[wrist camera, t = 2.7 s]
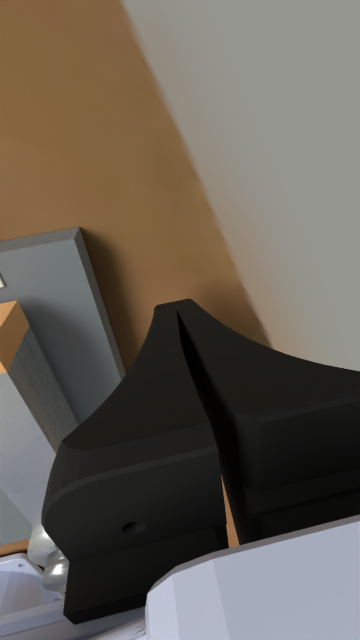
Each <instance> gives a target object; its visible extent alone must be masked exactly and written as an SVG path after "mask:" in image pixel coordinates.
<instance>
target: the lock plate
mask: <svg viewBox="0 0 360 640" xmlns="http://www.w3.org/2000/svg"><path fill="white" fill-rule="evenodd" d="M16 300H17V301H18V303H19V305H20V307H21V309H22V311H23V313H24V315H25V317H26V319H27V321H28V323H29V325H30V327H31V329H32V331H33V333H34V335H35V337H36V339H37V341H38V343H39V345H40V348H41V350H42V352H43V354H44V356H45V358H46V360H47V362H48V364H49V366H50V368H51V370H52V372H53V374H54V376H55V378H56V380H57V382H58V384H59V386H60V388H61V390H62V392H63V395H64V397H65V399H66V401H67V403H68V405H69V407H70V409H71V411H72V413H73V415H74V417H75V419H76V421H77V423H78V425H80V424H81V423H82V422H84V421H85V420H86V419H87V418H88V417H89V416H90V415H91V414H92V413H93V412H94V411H95V410H96V409H97V408H98V407H99V406H100V405H101V404H102V403H103V402H104V401H105V400H106V399H107V398H108V397H109V396H110V395H111V393H112V392H113V391H114V390H115V388H116V387H117V386H118V385H119V383H120V382H121V380H122V379H123V378H124V376H125V375H126V372H125V369H124V366H123V363H122V360H121V357H120V353H119V350H118V347H117V344H116V341H115V338H114V335H113V331H112V328H111V325H110V322H109V319H108V316H107V312H106V309H105V306H104V303H103V300H102V297H101V294H100V290H99V287H98V284H97V281H96V278H95V275H94V272H93V268H92V265H91V262H90V259H89V256H88V253H87V249H86V246H85V243H84V240H83V237H82V234H81V231H80V227H76V228H70V229H65V230H60V231H54V232H49V233H43V234H38V235H33V236H27V237H22V238H16V239H11V240H6V241H0V304H1V303H6V302H11V301H16ZM32 528H33V526H32V525H31V524H30V522H29V521H28V520H27V519H26V518H25V516H24V515H23V514H22V513H21V512H20V511H19V509H18V508H17V507H16V506H15V505H14V503H13V502H12V501H11V500H10V499H9V498H8V496H7V495H6V494H5V493H4V492H3V490H2V489H1V488H0V545H4V544H8V543H12V542H16V541H20V540H25V539H29V538H30V537H31V533H32ZM68 568H69V561H68V560H67V558H66V557H65V556H64V555H63V553H62V552H61V551H60V550H59V549H57V550H55V551H53V552H52V553H50V554H49V555H48V556H47V559H46V564H45V570H44V576H43V581H42V585H43V587H44V588H45V589H47V590H49V591H54V592H66V584H67V576H68Z"/></svg>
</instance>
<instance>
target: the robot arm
mask: <svg viewBox="0 0 360 640" xmlns="http://www.w3.org/2000/svg"><path fill="white" fill-rule="evenodd" d="M221 475H222V479H223V482H224V486H225V490H226V494H227V498H228V502H229V505H230V509H231V513H232V517H233V521H234V525H235V529H236V533H237V537H238V541H239V544H240V546H236V547H232V548H229V545H228V537H227V529H226V524H227V521H226V512H225V504H224V495H223V487H222V479H221ZM41 524H42V526H43V528H44V530H45V532H46V534H47V535H48V536H49V537H50V539H51V540H52V541H53V542H54V544H55V545H56V546H57V547H58V548H59V550H60V551H61V552H62V553H63V555H64V556H65V557H66V558H67V560H68V561H69V568H68V576H67V584H66V592H65V593H64V592H54V591H49V590H47V589H45V588H44V587H43V585H42V581H43V576H44V572H43V570H42V569H41V568H40V567H39V566H38V565H37V564H35V563H34V562H32V561H31V560H30V559H29V557H28V555H27V554H26V553H17V554H13V555H9V556H5V557H1V558H0V640H360V372H359V371H354V370H349V369H344V368H338V367H333V366H328V365H323V364H319V363H315V362H311V361H308V360H304V359H300V358H296V357H293V356H290V355H287V354H284V353H282V352H279V351H276V350H273V349H271V348H268V347H266V346H263V345H261V344H258V343H256V342H254V341H252V340H250V339H248V338H246V337H244V336H242V335H240V334H238V333H236V332H235V331H233V330H231V329H230V328H228V327H227V326H225V325H224V324H222V323H221V322H219V321H218V320H217V319H215V318H214V317H212V316H211V315H210V314H208V313H207V312H206V311H205V310H203V309H202V308H201V307H200V306H199V305H198V304H196V303H195V302H194V301H193V300H191V299H185V300H180V301H175V302H170V303H165V304H160V305H156V307H155V308H154V315H153V319H152V322H151V326H150V328H149V331H148V334H147V337H146V339H145V341H144V343H143V345H142V347H141V350H140V352H139V354H138V355H137V357H136V359H135V361H134V363H133V364H132V366H131V367H130V369H129V371H128V372H127V374H126V375H125V376H124V378H123V379H122V380H121V382H120V383H119V385H118V386H117V387H116V388H115V390H114V391H113V392H112V393H111V395H110V396H109V397H108V398H107V399H106V400H105V401H104V402H103V403H102V404H101V405H100V406H99V407H98V408H97V409H96V410H95V411H94V412H93V413H92V414H91V415H90V416H89V417H88V418H87V419H86V420H85V421H84V422H82V423H81V424H80V425H79V426H78V427H77V428H76V429H74V430H73V431H72V432H71V433H70V434H69V435H68V436H66V437H65V438H64V439H63V440H61V442H60V445H59V448H58V451H57V454H56V457H55V459H54V462H53V465H52V468H51V471H50V475H49V479H48V484H47V489H46V493H45V498H44V503H43V507H42V513H41Z"/></svg>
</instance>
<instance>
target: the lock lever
mask: <svg viewBox="0 0 360 640" xmlns="http://www.w3.org/2000/svg"><path fill="white" fill-rule="evenodd" d="M78 426H79V425H78V423H77V421H76V419H75V417H74V415H73V413H72V411H71V409H70V407H69V405H68V403H67V401H66V399H65V397H64V395H63V392H62V390H61V388H60V386H59V384H58V382H57V380H56V378H55V376H54V374H53V372H52V370H51V368H50V366H49V364H48V362H47V360H46V358H45V356H44V354H43V352H42V350H41V348H40V345H39V343H38V341H37V339H36V337H35V335H34V333H33V331H32V329H31V327H30V325H29V323H28V321H27V319H26V317H25V315H24V313H23V311H22V309H21V307H20V305H19V303H18V301H17V300H16V301H11V302H6V303H1V304H0V488H1V489H2V490H3V492H4V493H5V494H6V495H7V496H8V498H9V499H10V500H11V501H12V502H13V503H14V505H15V506H16V507H17V508H18V509H19V511H20V512H21V513H22V514H23V515H24V516H25V518H26V519H27V520H28V521H29V522H30V524H31V525H32V526H33V528H32V533H31V537H30V542H29V546H28V551H27V554H28V557H29V559H30V560H31V561H32V562H34V563H35V564H37V565H40V566H42V567H45V564H46V559H47V556H48V555H49V554H50V553H52V552H53V551H55V550H57V549H59V548H58V547H57V546H56V545H55V544H54V542H53V541H52V540H51V539H50V537H49V536H48V535H47V534H46V532H45V530H44V528H43V526H42V524H41V513H42V507H43V503H44V498H45V493H46V489H47V484H48V479H49V475H50V471H51V468H52V465H53V462H54V459H55V457H56V454H57V451H58V448H59V445H60V442H61V440H63V439H64V438H65V437H66V436H68V435H69V434H70V433H71V432H72V431H73V430H74V429H76V428H77V427H78Z"/></svg>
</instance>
